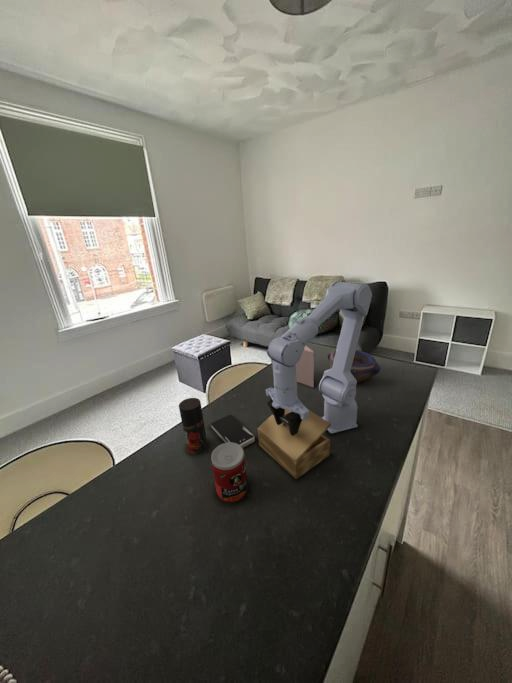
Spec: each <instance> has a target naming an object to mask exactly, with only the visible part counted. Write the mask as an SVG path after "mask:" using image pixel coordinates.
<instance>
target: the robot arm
mask: <svg viewBox="0 0 512 683" xmlns="http://www.w3.org/2000/svg"><path fill="white" fill-rule="evenodd" d="M372 298H373V292H372V290H371V288H370V286H369V285H368V284H366V283H356V282H355V283H353V282H347V281H341V280H335V281H333V283H331V284H330V286H328V287H327V288H326V294H325V297H324V298H323V299H322V300H321V301H320V302H319V304H318V305H317V306H316V307H315V308H314V309H313V310H312V312H311V313H310V314H309V315H308V316H301V317H299V318H297V320H296V321H295V323H294V324H292V326H291V327H289V329H288V330H287V331H286V332H284V333H283V334H282V336H278V337H275V338H274V339H272V340H271V341H270V342H269V344H268V348H267V350H266V355H267V357H268V358H269V359H270V361H271V365H272V374H273V376H272V377H273V387H272V386H270V387H268V388H266V389H265V396H266V397H267V398H268V397H270V398H271V399H270V400H268V401H267V402H266V403H267V404H266V405H267V406H268V408H269V409H270V411H271V413H272V414H273V415H274V418H275V421H276V423H277V425H280V424H282V421H281V420H279V415H281V414H282V415H284V416H285V417H286V419H287V421H288V424H289V431H290V434H291V435H292V436H293V435H295V434H297V433H298V430H299V427H300V424H301V422H302V420H305V419H307V418H308V417H309V411H310V409H308V408H307V407H306V406H305V405H304V404H303V403H302V401H301V400H300V399H299V397H298V382H297V371H296V363H297V362H299V360H300V358H301V355H302V352H303V351H304V347H305V346H308V344H309V343H310V342H311V341H312V340H313V339H314V338H316V337H317V335H318V334H319V326H320V325H322V324H323V323H324V322H325V321H326V320H327V319H328V318H330V317H331V316H332V315H333V314H334V313H335V312H337V311H338V310H339V311H340V312H341V314H342V315H343V321H342V325H341V329H340V332H339V333H340V334H339V338H338V341H337V344H336V345H337V346H336V350H335V351H336V354H335V358H334V362H333V366H332V368H329V369H326V370H324V372H323V375H322V377H321V379H320V381H319V384H318V391H319V392H320V394H322V398H323V400H324V402H323V406H324V407H323V416H320V417H321V418H322V419H324V420H326V421H327V422H329V423H330V424H331V426H330V427H329V428H328V429H327V430H326V431H328V433H329V434H331V435H333V434H336V433H339V432H345V431H348V430H351V429H355V428H358V426H359V424H357V421H358V418H357V417H358V404H357V401H356V399H355V398H356V396H357V384H358V383H357V381H356V379H355V378H354V376H353V375H352V374H351V372H350V371H351V367H352V363H353V359H354V355H355V351H356V350H357V347H358V343H359V340H360V335H361V332H362V327H363V323H364V319H365V317H367V315H368V313H369V309H370V306H371V302H372ZM285 409H286V410H289V411H291V412H290V413H288V414H286V415H285Z"/></svg>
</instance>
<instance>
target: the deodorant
mask: <svg viewBox="0 0 512 683" xmlns="http://www.w3.org/2000/svg"><path fill="white" fill-rule="evenodd" d="M178 409H179V415H180V418H181V419H180V420H181V425H182V430H183V435H184V440H185V444H186V448H187V452H188V453H190V454H192V455H197V454H200V453H203V452H204V451H206V449H207V448H208V439H207V434H206V427H205V421H204V416H203V408H202V403H201V400H200V399H199V398H197V397H188V398H186V399H183V400H181V401H180V402H179V403H178Z"/></svg>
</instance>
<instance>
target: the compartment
mask: <svg viewBox="0 0 512 683" xmlns="http://www.w3.org/2000/svg"><path fill="white" fill-rule="evenodd" d="M257 433H258V434H257V435H258V446H259V447H261V449H262V450H264V451H265V453H267V455H269V456H270V457H271V458H272V459H274V461H275V462H276V463H278V464H279V465H280V466H281V467H282V468H283V469H284V470H285V471H286V472H287V473H289V475H291V477H293V478H294V479H295V480H297V479H298V478H300V477H302V476H303V475H304V474H306V473H307V472H308V471H310V470H311V469H313V468H314V467H315V466H317V465H318V464H320V463H321V462H322V461H324V460H325V459H326V458H328V457H330V455H331V439H330V438H328V437H327V436H326V435H324V434H322V435H321V437H320V438H319V439H318V440H317V441H316V442H315V443H314V444H313V445H312V446H311V447H310V448H309V449H308V450H307V451H306V452H305V454H304V455H303V456H302V457H301V458H300V459H299V460H298V461H297V462H295V461H294V460H293V459H291V458H290V457H289V456H288V455H287V454H286V453H284V452H283V451H282V450H281V449H280V448H279V447H277V446H276V445H275V444H274V443H273V442H272V441H270V440H269V439H268V438H267V437H266V436H265V435H263V434H262V433H261V432H260V431H259V430H258V429H257Z"/></svg>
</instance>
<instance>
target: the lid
mask: <svg viewBox="0 0 512 683" xmlns="http://www.w3.org/2000/svg"><path fill="white" fill-rule="evenodd" d="M290 412H291V411H289V410H286V409H285V415H286V414H288V413H290ZM321 417H322V416H319V415H317V414H316V413H314V412H313V411H311V410H309V417H308V418H307V419H305V420H302V422H301V424H300V427H299V430H298V433H297V434H295V435H293V436H292V435H291V434H290V431H289V424H288V421H287V419H286V417H285V416H284V415H282V414H281V415H279V420H281V421H282V424H280V425H277V423H276V421H275V418H274V415H273V413H272V414H271V415H270V416H269V417H268V418H266V420H265V421H264V422H263V423H262V424H260V425H259V427H257V429H256V430H257V431H258V430H259V431H260V432H261V433H262V434H263V435H265V436H266V437H267V438H268V439H269V440H270V441H272V442H273V443H274V444H275V445H276V446H277V447H279V448H280V449H281V450H282V451H283V452H284V453H286V454H287V455H288V456H289V457H290V458H291V459H293V460H294V461H295V462H297V461H298V460H299V459H300V458H301V457H302V456H303V455H304V454H305V452H306V451H307V450H308V449H309V448H310V447H311V446H312V445H313V444H314V443H315V442H316V441H317V440H318V439H319V438H320V437H321V435H324V434H325V432H327V431H328V430H327V429H328V428H329V427H330V426H331V424H330V423H329V422H327V421H326V420H324V419H322V418H321Z"/></svg>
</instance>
